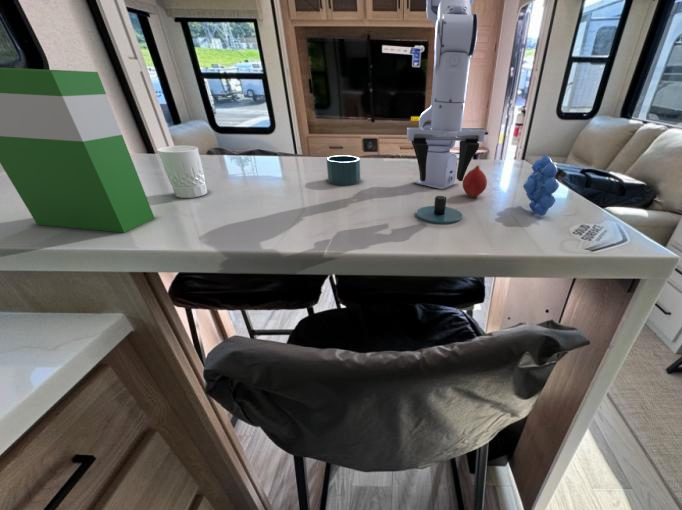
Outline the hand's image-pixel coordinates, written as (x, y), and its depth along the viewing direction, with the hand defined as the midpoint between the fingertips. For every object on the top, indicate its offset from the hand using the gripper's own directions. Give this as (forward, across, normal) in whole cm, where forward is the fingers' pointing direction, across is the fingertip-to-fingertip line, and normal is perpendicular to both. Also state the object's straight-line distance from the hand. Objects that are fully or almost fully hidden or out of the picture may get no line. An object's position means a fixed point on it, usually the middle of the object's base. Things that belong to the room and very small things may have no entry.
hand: (441, 179), depth 67 cm
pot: (+8, -20, +30) cm, 37 cm away
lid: (+7, 0, 0) cm, 7 cm away
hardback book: (+8, -66, +1) cm, 67 cm away
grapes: (+8, +23, +3) cm, 25 cm away
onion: (+8, +12, +14) cm, 20 cm away
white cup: (+8, -56, +18) cm, 59 cm away
